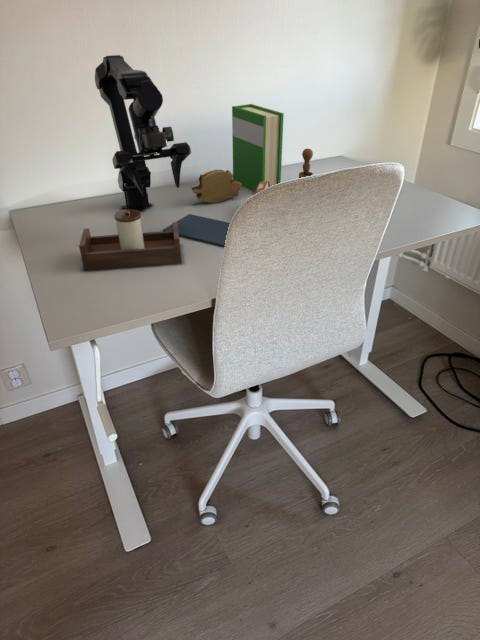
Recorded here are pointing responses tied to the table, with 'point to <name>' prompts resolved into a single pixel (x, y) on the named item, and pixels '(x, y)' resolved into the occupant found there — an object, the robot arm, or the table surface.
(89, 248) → the brown wooden tray
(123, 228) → the canister
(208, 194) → the wooden carving
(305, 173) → the brown wooden pawn
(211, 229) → the mat
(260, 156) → the hardback book
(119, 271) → the table surface
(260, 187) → the tin
